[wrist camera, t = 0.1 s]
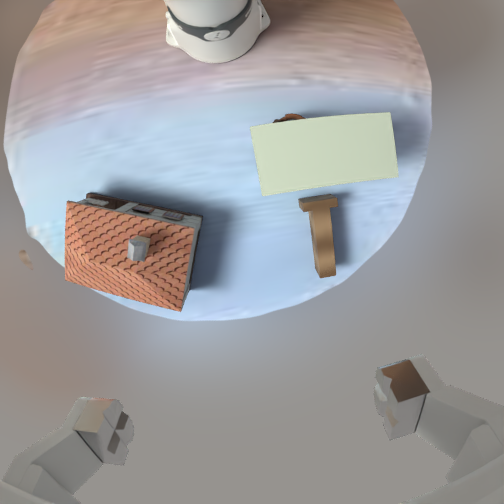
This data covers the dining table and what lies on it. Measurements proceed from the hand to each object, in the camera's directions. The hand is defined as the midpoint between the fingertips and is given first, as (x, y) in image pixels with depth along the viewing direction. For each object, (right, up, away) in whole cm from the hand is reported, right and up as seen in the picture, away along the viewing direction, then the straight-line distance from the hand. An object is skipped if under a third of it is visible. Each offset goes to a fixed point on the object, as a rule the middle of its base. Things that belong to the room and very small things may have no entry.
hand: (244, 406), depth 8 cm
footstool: (+10, +23, +43) cm, 50 cm away
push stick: (+13, +8, +48) cm, 50 cm away
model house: (-22, +7, +49) cm, 54 cm away
